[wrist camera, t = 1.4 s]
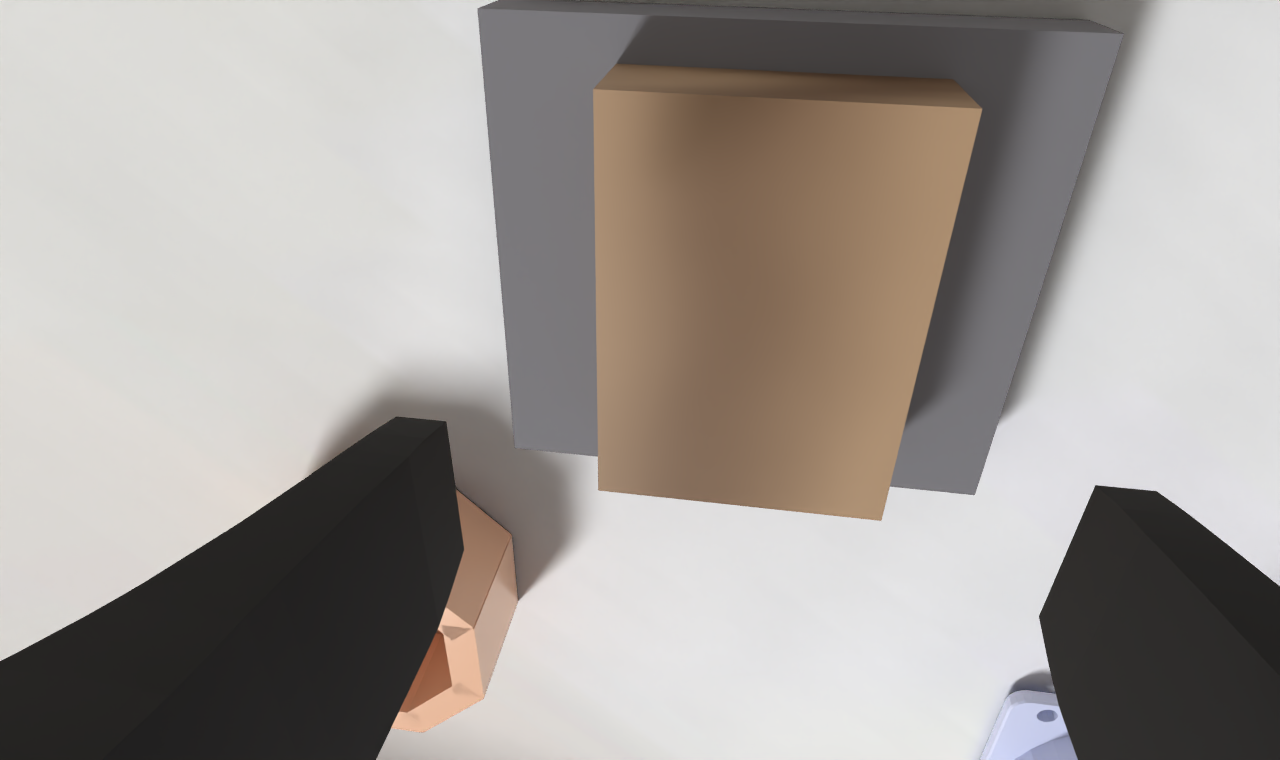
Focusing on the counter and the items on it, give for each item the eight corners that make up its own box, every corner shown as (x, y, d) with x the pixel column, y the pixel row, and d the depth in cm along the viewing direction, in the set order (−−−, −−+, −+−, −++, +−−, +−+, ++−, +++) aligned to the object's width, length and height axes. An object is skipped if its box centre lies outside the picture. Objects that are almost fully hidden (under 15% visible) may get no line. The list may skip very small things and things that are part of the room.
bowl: (506, 480, 20) (465, 571, 17) (522, 645, 23) (489, 742, 21) (274, 456, 21) (200, 539, 18) (322, 619, 24) (266, 709, 22)
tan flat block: (953, 79, 12) (982, 108, 11) (869, 455, 16) (881, 520, 15) (615, 63, 13) (592, 89, 11) (615, 430, 17) (598, 490, 15)
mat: (1089, 20, 13) (1123, 33, 12) (960, 452, 18) (974, 494, 16) (504, -2, 14) (477, 8, 13) (532, 410, 19) (514, 447, 18)
